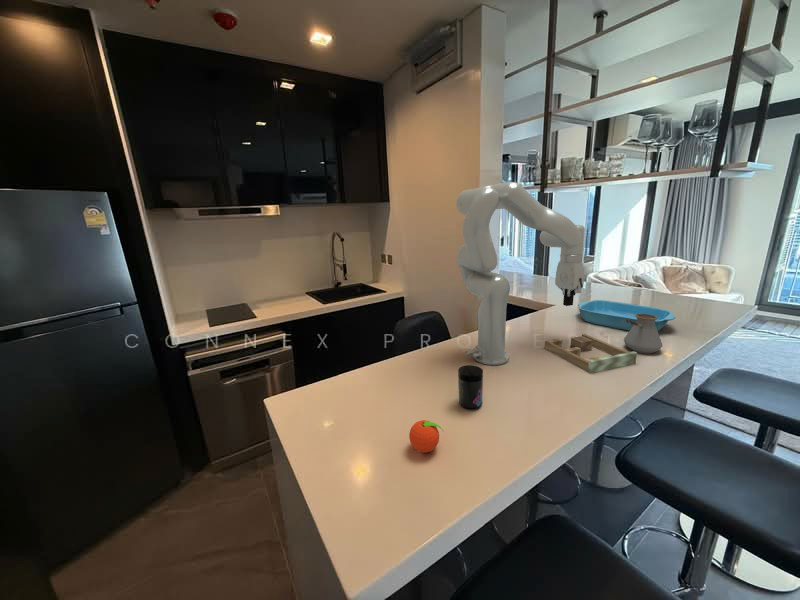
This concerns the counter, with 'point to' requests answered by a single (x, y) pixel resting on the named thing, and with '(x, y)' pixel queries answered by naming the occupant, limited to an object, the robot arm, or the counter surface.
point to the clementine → (424, 436)
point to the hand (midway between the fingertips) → (568, 305)
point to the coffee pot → (643, 334)
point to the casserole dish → (620, 313)
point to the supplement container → (470, 386)
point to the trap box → (596, 363)
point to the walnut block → (581, 343)
